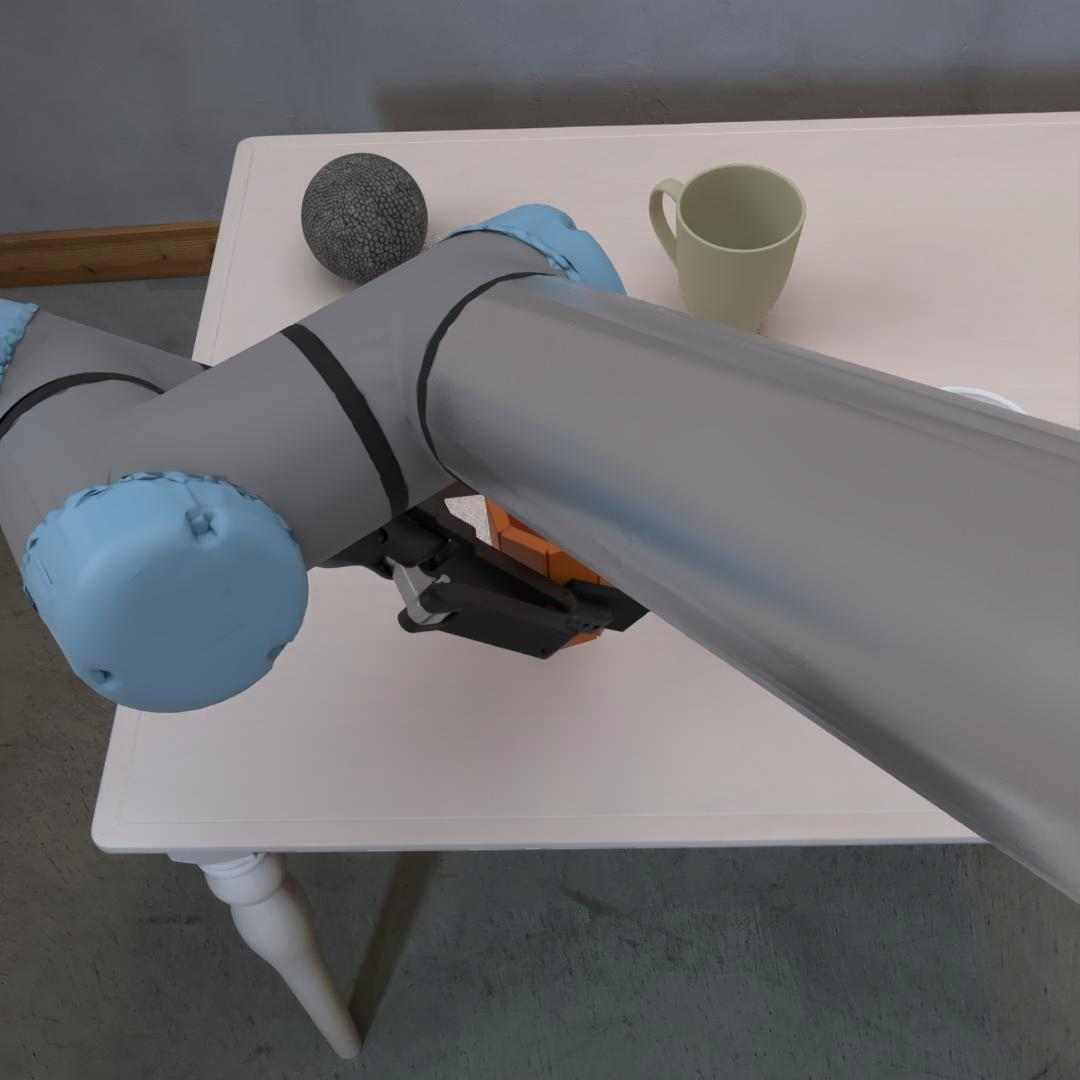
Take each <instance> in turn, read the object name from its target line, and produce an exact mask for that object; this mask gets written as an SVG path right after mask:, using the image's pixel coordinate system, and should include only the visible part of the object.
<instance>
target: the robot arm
mask: <svg viewBox="0 0 1080 1080" xmlns="http://www.w3.org/2000/svg"><path fill="white" fill-rule="evenodd" d="M938 388H939V387H935V386H931V385H929V384H926V383H922V382H918V381H915V380H911V379H908V378H904V377H902V376H898V375H894V374H891V373H888V372H884V371H881V370H877V369H875V368H871V367H867V366H864V365H860V364H857V363H855V362H851V361H848V360H845V359H840V358H839V357H838V358H837V357H833V356H831V355H827V354H825V353H824V354H823V353H821V352H817V351H814V350H810V349H807V348H804V347H800V346H797V345H794V344H790V343H787V342H783V341H780V340H777V339H774V338H770V337H768V336H767V337H766V336H763V335H760V334H756V333H755V334H754V333H750V332H747V331H743V330H740V329H737V328H733V327H730V326H727V325H723V324H720V323H717V322H713V321H710V320H706V319H703V318H700V317H696V316H693V315H690V314H689V313H685V312H683V311H679V310H676V309H673V308H669V307H666V306H664V305H663V306H662V305H660V304H656V303H653V302H649V301H646V300H642V299H639V298H636V297H632V296H630V295H628V293H627V291H626V288H625V285H624V283H623V281H622V278H621V277H620V275H619V273H618V271H617V269H616V268H615V266H614V264H613V262H612V261H611V260H610V258H609V256H608V255H607V253H606V251H605V250H604V249H603V247H602V246H601V244H600V243H598V241H597V240H596V239H595V238H594V237H593V235H592V234H591V233H589V232H588V231H586V230H582V229H578V227H577V226H576V223H575V222H574V220H573V218H572V217H571V216H570V215H569V214H568V213H566V212H564V211H563V210H561V209H559V208H556V207H553V206H551V205H548V204H542V203H529V204H528V203H527V204H522V205H518V206H516V207H514V208H511V209H509V210H507V211H505V212H502V213H500V214H497V215H495V216H493V217H490V218H488V219H486V220H484V221H481V222H479V223H476V224H475V225H469V226H468V225H467V226H463V227H460V228H457V229H455V230H454V231H452V232H450V233H449V234H448V235H447V236H445V237H444V238H442V239H440V240H439V241H437V242H436V244H435V245H433V246H432V247H430V248H428V249H426V250H424V251H423V252H420V253H419V255H417V256H415V257H414V258H412V259H410V260H408V261H406V262H405V263H403V264H401V265H399V266H397V267H395V268H394V269H392V270H390V271H388V272H386V273H385V274H383V275H381V276H379V277H377V278H376V279H374V280H372V281H370V282H368V283H364V284H363V285H361V286H359V287H357V288H355V289H354V290H352V291H350V292H349V293H346V294H344V295H343V296H340V297H339V298H338V299H335V300H334V301H332V302H330V303H329V304H327V305H325V306H323V307H322V308H319V309H318V310H316V311H314V312H312V313H311V314H309V315H307V316H305V317H303V318H302V319H300V320H298V321H296V322H294V323H293V324H289V325H288V326H286V327H284V328H282V329H281V330H279V331H277V332H275V333H274V334H272V335H270V336H268V337H266V338H264V339H263V340H260V341H259V342H257V343H255V344H253V345H251V346H249V347H248V348H246V349H244V350H242V351H240V352H238V353H236V354H234V355H232V356H230V357H229V358H227V359H225V360H222V361H221V362H219V363H217V364H215V365H209V364H205V363H203V362H199V361H196V360H193V359H190V358H187V357H183V356H181V355H177V354H175V353H171V352H168V351H165V350H163V349H160V348H157V347H156V348H155V347H153V346H151V345H147V344H144V343H141V342H138V341H135V340H132V339H129V338H126V337H123V336H120V335H118V334H114V333H110V332H107V331H105V330H102V329H99V328H95V327H93V326H90V325H87V324H83V323H80V322H77V321H74V320H71V319H67V318H65V317H62V316H59V315H56V314H53V313H51V312H47V311H45V310H41V305H38V304H35V303H32V302H27V303H23V302H22V303H21V302H18V301H12V300H10V299H5V298H0V529H1V530H2V533H3V535H4V537H5V539H6V542H7V545H8V547H9V549H10V552H11V554H12V556H13V559H14V561H15V563H16V566H17V568H18V571H19V573H20V575H21V578H22V589H23V593H24V594H25V597H26V599H27V601H28V603H29V604H30V606H31V608H32V609H33V610H34V611H35V613H36V614H37V615H38V616H39V617H40V619H41V620H42V623H44V624H45V625H46V627H47V628H48V630H49V631H50V633H51V635H52V637H53V639H54V640H55V642H56V644H57V646H58V647H59V649H60V651H61V652H62V654H63V656H64V657H65V659H66V661H67V663H68V664H69V666H70V667H71V669H72V671H73V673H74V674H75V675H76V676H77V677H78V678H79V679H80V680H81V681H83V682H84V683H85V684H86V685H87V686H88V687H89V688H90V689H92V690H93V691H95V692H96V693H97V694H98V695H100V696H102V697H103V698H105V699H107V700H109V701H111V702H113V703H115V704H117V705H120V706H122V707H126V708H128V709H133V710H136V711H140V712H146V713H155V714H157V713H158V714H177V713H185V712H191V711H197V710H202V709H205V708H208V707H211V706H215V705H218V704H221V703H222V702H225V701H227V700H230V699H232V698H234V697H236V696H238V695H239V694H241V693H244V692H245V691H247V690H248V689H250V688H251V687H253V686H254V685H255V684H256V683H258V682H259V681H261V680H262V679H263V678H264V677H265V676H266V675H267V674H269V673H270V671H271V670H273V666H274V664H275V661H276V659H277V658H278V657H279V656H280V654H281V653H282V652H283V650H284V649H285V648H286V646H287V644H289V643H292V642H294V641H295V640H296V639H295V638H296V637H297V635H298V634H299V631H300V630H301V628H302V626H303V623H304V620H305V616H306V612H307V610H308V609H307V608H308V605H309V591H310V589H309V576H308V572H309V571H311V570H312V569H314V568H320V569H339V568H347V567H364V568H366V569H368V570H370V571H371V572H374V573H375V574H377V575H378V576H379V577H380V578H382V579H385V580H387V581H394V583H395V586H396V588H397V590H398V592H399V594H400V596H401V598H402V600H403V602H404V604H405V607H404V608H403V609H402V610H400V611H399V612H398V614H397V619H396V620H397V622H398V624H399V626H400V628H401V629H402V630H403V631H405V632H406V633H408V634H418V633H419V634H420V633H427V632H428V633H429V632H436V631H439V632H441V633H446V634H449V635H453V636H457V637H461V638H463V639H467V640H471V641H475V642H478V643H482V644H486V645H489V646H493V647H497V648H501V649H502V650H503V649H504V650H508V651H511V652H513V653H518V654H521V655H525V656H529V657H533V658H536V659H540V660H546V661H547V660H548V659H549V658H551V657H552V656H553V655H556V654H557V653H558V652H559V651H560V649H561V648H562V647H564V646H565V645H566V644H568V643H569V642H570V641H571V640H573V639H574V638H575V637H576V636H578V635H579V634H580V633H585V634H590V635H592V634H595V633H597V632H598V631H599V630H601V629H602V628H604V630H610V631H615V632H620V633H624V632H625V631H627V630H628V629H629V628H630V627H632V625H634V624H635V623H637V622H638V621H639V620H641V619H642V618H644V616H646V615H648V614H649V613H650V612H652V613H653V614H654V615H656V616H657V617H659V619H662V620H663V621H665V622H666V623H668V624H669V625H670V626H671V627H673V628H675V629H676V630H678V631H679V632H680V633H682V634H684V635H685V636H686V637H688V638H689V639H691V640H692V641H694V642H695V643H697V644H698V645H700V646H701V647H703V648H704V649H706V650H707V651H708V652H710V653H711V654H713V655H714V656H716V657H717V658H718V659H720V660H722V661H723V662H724V663H726V664H727V665H729V666H730V667H732V668H733V669H734V670H736V671H738V672H739V673H741V674H742V675H743V676H745V677H746V678H748V679H749V680H751V681H752V682H754V683H755V684H757V685H758V686H759V687H761V688H762V689H763V690H765V691H767V692H768V693H770V694H771V695H773V696H774V697H776V698H777V699H778V700H780V701H781V702H783V703H784V704H786V705H787V706H789V707H790V708H792V709H793V710H795V711H796V712H797V713H799V714H801V715H802V716H803V717H805V718H806V719H807V720H809V721H811V722H812V723H813V724H815V725H816V726H818V727H820V728H821V729H822V730H824V731H825V732H827V733H828V734H829V735H831V736H833V737H834V738H835V739H836V740H839V741H840V743H841V742H842V744H845V745H846V746H847V747H849V748H851V749H852V750H853V751H854V752H856V753H857V754H859V755H860V756H862V757H863V758H865V759H866V760H868V761H869V762H871V763H872V764H873V765H874V766H876V767H878V768H879V769H880V770H882V771H884V772H885V773H887V774H888V775H889V776H890V777H892V778H894V779H895V780H897V781H898V782H900V783H901V784H902V785H904V786H905V787H906V788H908V789H910V790H911V791H913V792H915V793H916V794H917V795H919V796H920V797H922V798H923V799H925V800H926V801H927V802H929V803H931V804H932V805H933V806H935V807H936V808H938V809H939V810H941V811H942V812H943V813H945V814H946V815H948V816H950V817H951V818H952V819H954V820H955V821H956V822H959V824H961V825H962V826H964V827H965V828H967V829H969V830H970V831H971V832H972V833H975V834H976V835H977V836H978V837H980V838H982V839H983V840H984V841H986V842H987V843H989V844H991V845H992V846H993V847H994V848H996V849H998V850H999V851H1001V852H1002V853H1003V854H1005V855H1006V856H1008V857H1009V858H1011V859H1012V860H1013V861H1015V862H1016V863H1018V864H1020V865H1021V866H1023V867H1024V868H1026V869H1027V870H1028V871H1030V872H1031V873H1033V874H1034V875H1035V876H1037V877H1038V878H1040V879H1041V880H1043V881H1044V882H1045V883H1047V884H1049V885H1050V886H1052V887H1053V888H1055V889H1056V890H1058V891H1059V892H1061V893H1062V894H1063V895H1065V896H1066V897H1067V898H1069V899H1071V900H1072V901H1073V902H1075V903H1077V904H1078V905H1080V429H1076V428H1072V427H1070V426H1066V425H1063V424H1060V423H1056V422H1053V421H1049V420H1046V419H1042V418H1040V417H1036V416H1032V415H1031V416H1029V415H1026V414H1023V413H1019V412H1016V411H1012V410H1009V409H1006V408H1002V407H999V406H996V405H992V404H989V403H986V402H982V401H979V400H975V399H972V398H969V397H965V396H962V395H959V394H955V393H952V392H949V391H945V390H942V389H938ZM472 496H473V497H475V496H482V497H485V498H487V499H488V500H489V501H491V502H492V503H494V504H495V505H497V506H498V507H500V508H501V509H503V510H504V511H506V512H507V513H508V514H510V515H511V516H513V517H514V518H516V519H517V520H519V521H520V522H522V523H523V524H525V525H526V526H527V527H529V528H530V529H532V530H533V531H535V532H536V533H538V534H539V535H541V536H542V537H544V538H545V539H546V540H548V541H549V542H551V543H552V544H554V545H555V546H557V547H558V548H560V549H561V550H562V551H564V552H565V553H567V554H568V555H570V556H571V557H573V558H574V559H576V560H577V561H579V562H580V563H581V564H583V565H584V566H586V567H587V568H589V569H590V570H592V571H593V572H595V573H596V574H598V575H599V576H600V577H602V578H603V579H605V580H606V581H608V582H609V583H611V584H612V585H614V586H615V587H617V588H614V587H610V586H605V585H601V584H597V583H591V582H587V581H583V580H578V579H574V578H572V579H571V580H570V581H568V582H567V583H566V584H565V585H564V586H562V585H560V584H558V583H556V582H555V581H553V580H551V579H549V578H547V577H546V576H544V575H542V574H540V573H539V572H537V571H535V570H533V569H532V568H530V567H528V566H526V565H524V564H523V563H521V562H519V561H517V560H516V559H514V558H512V557H510V556H509V555H507V554H505V553H503V552H502V551H500V550H498V549H496V548H494V547H493V546H492V544H489V543H487V542H486V541H484V540H482V539H480V538H478V537H477V529H476V527H475V526H473V525H472V524H470V523H469V522H467V521H465V520H464V519H462V518H460V517H458V516H456V515H455V514H453V513H451V511H450V508H449V507H448V505H447V504H446V500H448V499H457V498H464V497H465V498H466V497H472ZM485 498H484V499H485ZM561 650H562V649H561Z"/></svg>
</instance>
